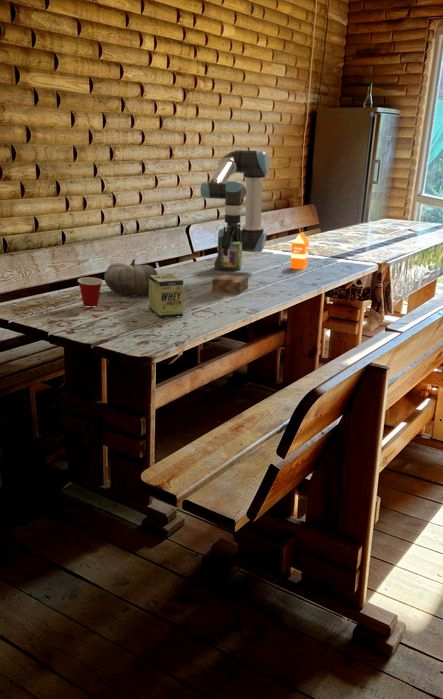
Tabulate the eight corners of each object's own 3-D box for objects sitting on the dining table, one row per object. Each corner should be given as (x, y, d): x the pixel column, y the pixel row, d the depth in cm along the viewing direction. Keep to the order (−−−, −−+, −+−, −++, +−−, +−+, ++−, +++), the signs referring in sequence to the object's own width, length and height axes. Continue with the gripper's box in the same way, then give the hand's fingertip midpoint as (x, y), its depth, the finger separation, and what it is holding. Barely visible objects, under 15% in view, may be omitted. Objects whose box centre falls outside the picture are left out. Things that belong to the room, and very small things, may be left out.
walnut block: (212, 291, 330) (212, 279, 328) (221, 286, 343) (221, 274, 341) (239, 294, 326) (240, 282, 324) (247, 288, 339) (248, 277, 337)
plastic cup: (92, 311, 289) (91, 283, 285) (73, 307, 294) (72, 280, 290) (108, 306, 297) (108, 279, 294) (90, 302, 303) (89, 275, 299)
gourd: (127, 297, 301) (125, 258, 299) (93, 297, 318) (91, 259, 316) (168, 295, 319) (167, 258, 317) (134, 294, 336) (133, 259, 334)
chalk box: (238, 268, 325) (239, 237, 321) (219, 267, 327) (220, 236, 322) (242, 265, 334) (243, 234, 329) (223, 263, 335) (224, 233, 331)
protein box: (159, 319, 280) (159, 282, 275) (148, 309, 294) (148, 274, 289) (183, 317, 284) (184, 280, 279) (171, 307, 298) (171, 273, 293)
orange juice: (290, 268, 390) (292, 233, 384) (294, 265, 398) (296, 231, 392) (303, 269, 387) (305, 234, 381) (307, 266, 395) (309, 232, 389)
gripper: (229, 217, 311) (227, 264, 318) (249, 212, 331) (247, 257, 338) (214, 215, 315) (213, 263, 321) (235, 211, 334) (234, 256, 341)
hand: (231, 260), depth 329 cm, fingers closed on chalk box, 10 cm apart
